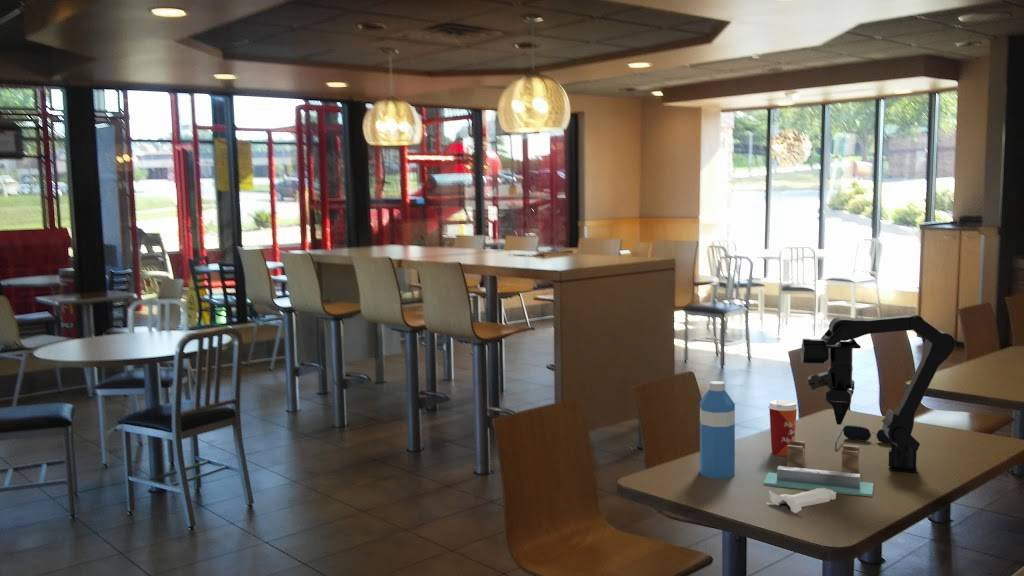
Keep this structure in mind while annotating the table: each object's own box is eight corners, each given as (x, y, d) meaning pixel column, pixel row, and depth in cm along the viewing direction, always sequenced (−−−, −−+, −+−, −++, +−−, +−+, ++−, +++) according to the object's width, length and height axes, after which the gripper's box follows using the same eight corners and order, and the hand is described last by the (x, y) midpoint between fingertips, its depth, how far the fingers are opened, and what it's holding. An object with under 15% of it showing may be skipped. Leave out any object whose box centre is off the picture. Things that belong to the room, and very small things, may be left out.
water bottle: (737, 470, 238) (738, 380, 235) (731, 480, 229) (731, 387, 227) (703, 466, 242) (703, 378, 239) (696, 476, 233) (695, 384, 231)
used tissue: (761, 504, 213) (761, 488, 213) (825, 495, 218) (825, 480, 217) (786, 518, 203) (786, 502, 202) (853, 509, 207) (853, 493, 207)
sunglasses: (904, 446, 258) (904, 430, 257) (898, 466, 246) (898, 449, 245) (843, 439, 267) (843, 424, 266) (834, 458, 255) (834, 442, 254)
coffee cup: (791, 459, 247) (792, 407, 245) (763, 454, 252) (763, 403, 250) (801, 451, 253) (802, 401, 252) (774, 447, 258) (774, 398, 257)
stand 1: (804, 464, 242) (804, 441, 241) (802, 470, 236) (802, 447, 235) (789, 462, 243) (789, 440, 242) (787, 469, 238) (787, 445, 237)
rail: (859, 485, 221) (860, 474, 221) (859, 489, 219) (859, 477, 218) (778, 476, 229) (778, 465, 229) (776, 480, 227) (777, 469, 226)
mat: (873, 485, 223) (873, 483, 223) (872, 496, 215) (872, 494, 215) (768, 474, 233) (768, 472, 233) (763, 484, 225) (763, 482, 225)
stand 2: (858, 469, 236) (859, 446, 235) (857, 476, 230) (858, 452, 230) (843, 468, 237) (843, 444, 237) (841, 474, 232) (842, 450, 231)
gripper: (813, 356, 248) (812, 410, 249) (806, 368, 231) (805, 426, 232) (855, 358, 243) (854, 413, 245) (851, 371, 226) (850, 429, 228)
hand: (840, 420), depth 237 cm, fingers open, 9 cm apart
